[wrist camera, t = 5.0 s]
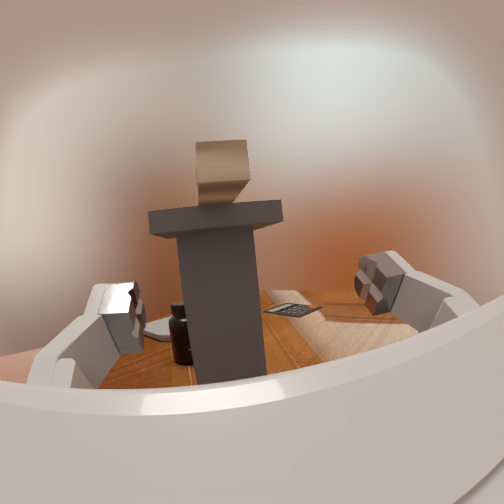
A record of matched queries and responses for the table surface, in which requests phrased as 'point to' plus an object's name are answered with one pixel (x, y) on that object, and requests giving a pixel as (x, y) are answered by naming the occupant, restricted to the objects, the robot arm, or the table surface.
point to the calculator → (293, 309)
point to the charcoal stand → (220, 284)
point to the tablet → (158, 329)
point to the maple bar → (221, 171)
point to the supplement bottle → (180, 334)
